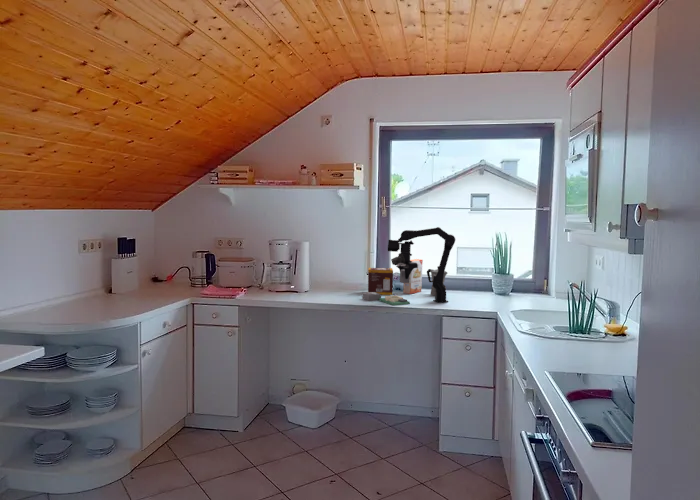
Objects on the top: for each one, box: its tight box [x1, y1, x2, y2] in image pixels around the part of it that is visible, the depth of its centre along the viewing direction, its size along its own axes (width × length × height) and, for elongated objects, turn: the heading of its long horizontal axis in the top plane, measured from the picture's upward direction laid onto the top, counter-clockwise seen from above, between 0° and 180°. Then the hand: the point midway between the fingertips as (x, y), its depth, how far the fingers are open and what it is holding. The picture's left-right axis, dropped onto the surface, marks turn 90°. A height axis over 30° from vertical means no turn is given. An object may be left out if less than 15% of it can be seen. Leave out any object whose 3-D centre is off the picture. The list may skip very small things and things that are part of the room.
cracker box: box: [402, 258, 424, 295], centre depth 320 cm, size 14×6×21 cm, turn 143°
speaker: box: [361, 291, 382, 302], centre depth 295 cm, size 8×8×4 cm
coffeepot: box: [426, 265, 448, 297], centre depth 313 cm, size 15×9×18 cm, turn 44°
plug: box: [399, 269, 409, 284], centre depth 294 cm, size 4×5×7 cm
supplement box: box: [367, 267, 394, 296], centre depth 316 cm, size 10×15×16 cm
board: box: [378, 293, 411, 306], centre depth 288 cm, size 16×11×3 cm
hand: (404, 278), depth 294 cm, fingers closed on plug, 4 cm apart
